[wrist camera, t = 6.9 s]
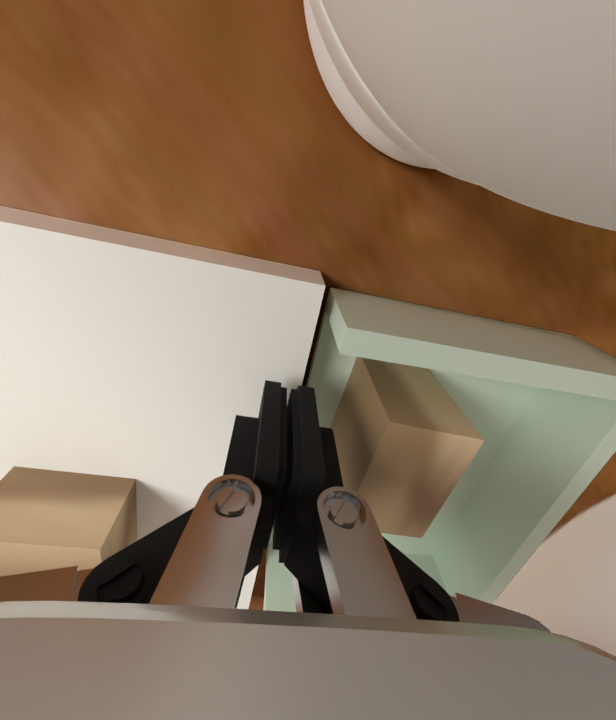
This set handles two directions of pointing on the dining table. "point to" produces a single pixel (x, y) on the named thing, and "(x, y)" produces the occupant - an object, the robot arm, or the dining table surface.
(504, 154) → the jar
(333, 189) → the dining table surface
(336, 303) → the tray
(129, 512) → the tan block
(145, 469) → the board
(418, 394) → the tan faceted block
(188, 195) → the dining table surface
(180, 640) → the robot arm
